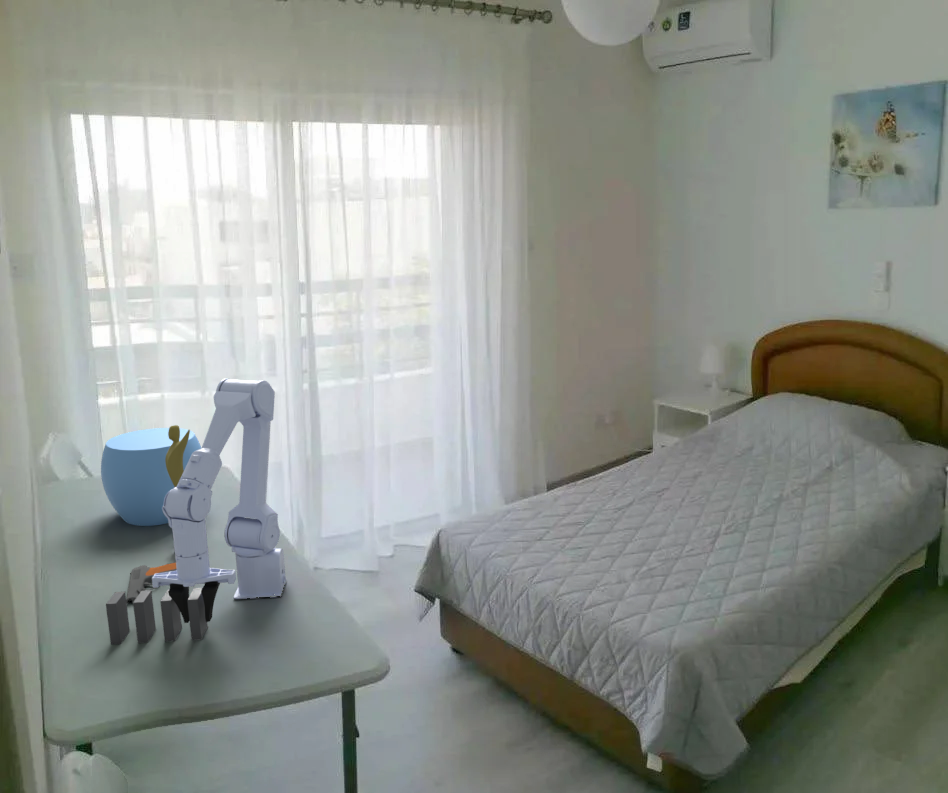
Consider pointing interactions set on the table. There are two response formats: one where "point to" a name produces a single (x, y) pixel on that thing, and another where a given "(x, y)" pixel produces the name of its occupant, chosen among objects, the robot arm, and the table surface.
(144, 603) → the domino
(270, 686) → the table surface
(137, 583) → the handgun
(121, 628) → the domino end
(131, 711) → the table surface
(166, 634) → the domino
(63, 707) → the table surface
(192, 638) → the domino
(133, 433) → the planter
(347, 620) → the table surface
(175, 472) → the sculpture
